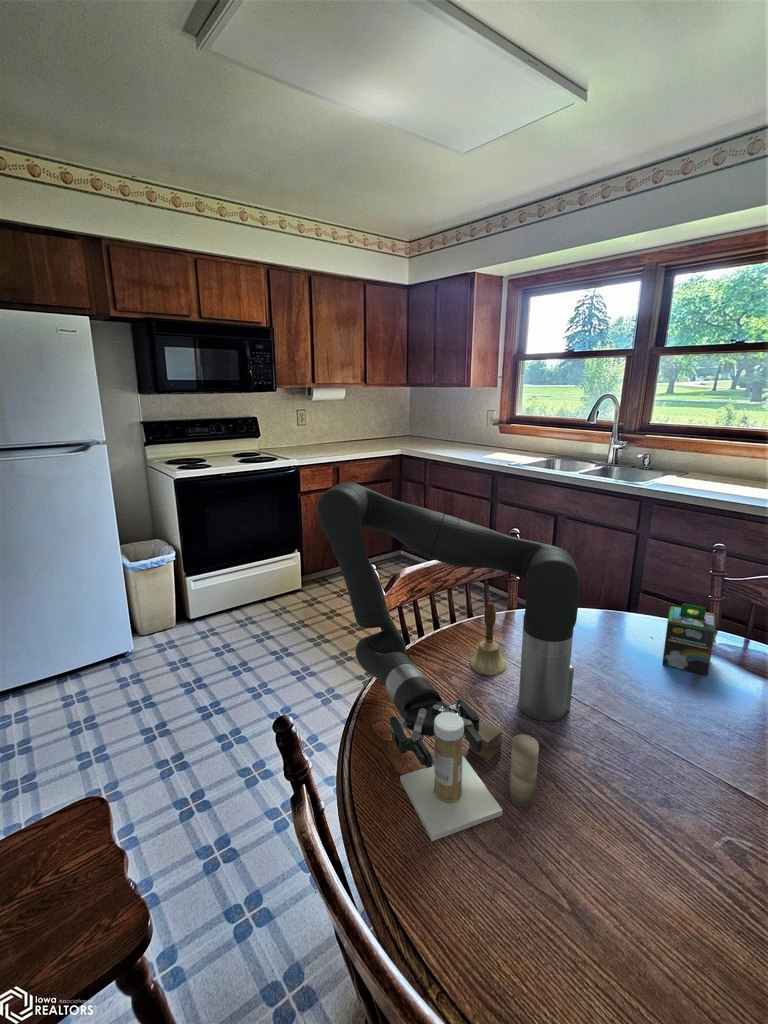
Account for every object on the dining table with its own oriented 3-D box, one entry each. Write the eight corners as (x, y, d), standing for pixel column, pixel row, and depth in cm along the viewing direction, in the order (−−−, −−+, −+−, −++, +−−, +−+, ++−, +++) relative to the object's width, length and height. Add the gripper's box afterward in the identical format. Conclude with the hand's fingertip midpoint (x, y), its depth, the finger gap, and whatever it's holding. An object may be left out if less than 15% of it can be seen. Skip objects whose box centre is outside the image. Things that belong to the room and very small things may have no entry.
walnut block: (483, 738, 92) (484, 720, 91) (500, 750, 89) (501, 731, 88) (469, 749, 90) (469, 730, 89) (486, 761, 87) (487, 742, 86)
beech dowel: (524, 782, 82) (528, 731, 79) (540, 801, 78) (544, 748, 76) (504, 790, 81) (507, 738, 78) (518, 809, 77) (522, 755, 74)
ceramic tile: (463, 760, 87) (463, 756, 87) (502, 815, 76) (502, 810, 76) (400, 780, 83) (400, 775, 83) (431, 841, 72) (431, 835, 72)
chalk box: (708, 657, 117) (718, 600, 113) (708, 677, 109) (719, 616, 105) (663, 647, 121) (672, 591, 118) (660, 665, 114) (669, 606, 110)
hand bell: (511, 673, 112) (515, 609, 108) (476, 677, 111) (478, 612, 107) (498, 653, 120) (501, 593, 116) (465, 657, 119) (466, 596, 115)
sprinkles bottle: (468, 794, 79) (470, 722, 75) (446, 808, 76) (447, 735, 73) (449, 776, 82) (450, 707, 79) (427, 789, 80) (427, 718, 76)
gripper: (374, 685, 87) (412, 747, 72) (447, 667, 92) (496, 722, 77) (375, 721, 89) (412, 789, 74) (446, 702, 94) (494, 762, 79)
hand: (455, 755), depth 76 cm, fingers open, 8 cm apart
